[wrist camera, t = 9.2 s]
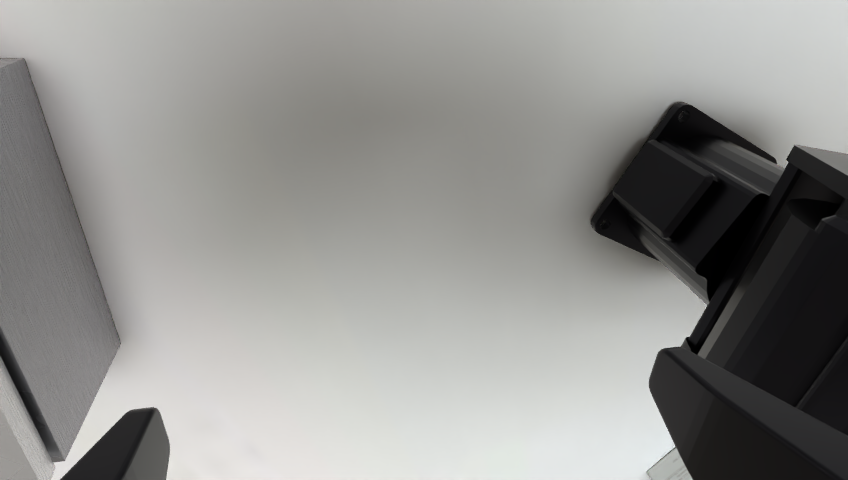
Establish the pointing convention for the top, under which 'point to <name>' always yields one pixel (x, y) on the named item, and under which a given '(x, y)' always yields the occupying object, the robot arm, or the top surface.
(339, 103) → the top surface
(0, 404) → the tabbed silver plate
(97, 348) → the grey open box
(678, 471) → the skincare box
